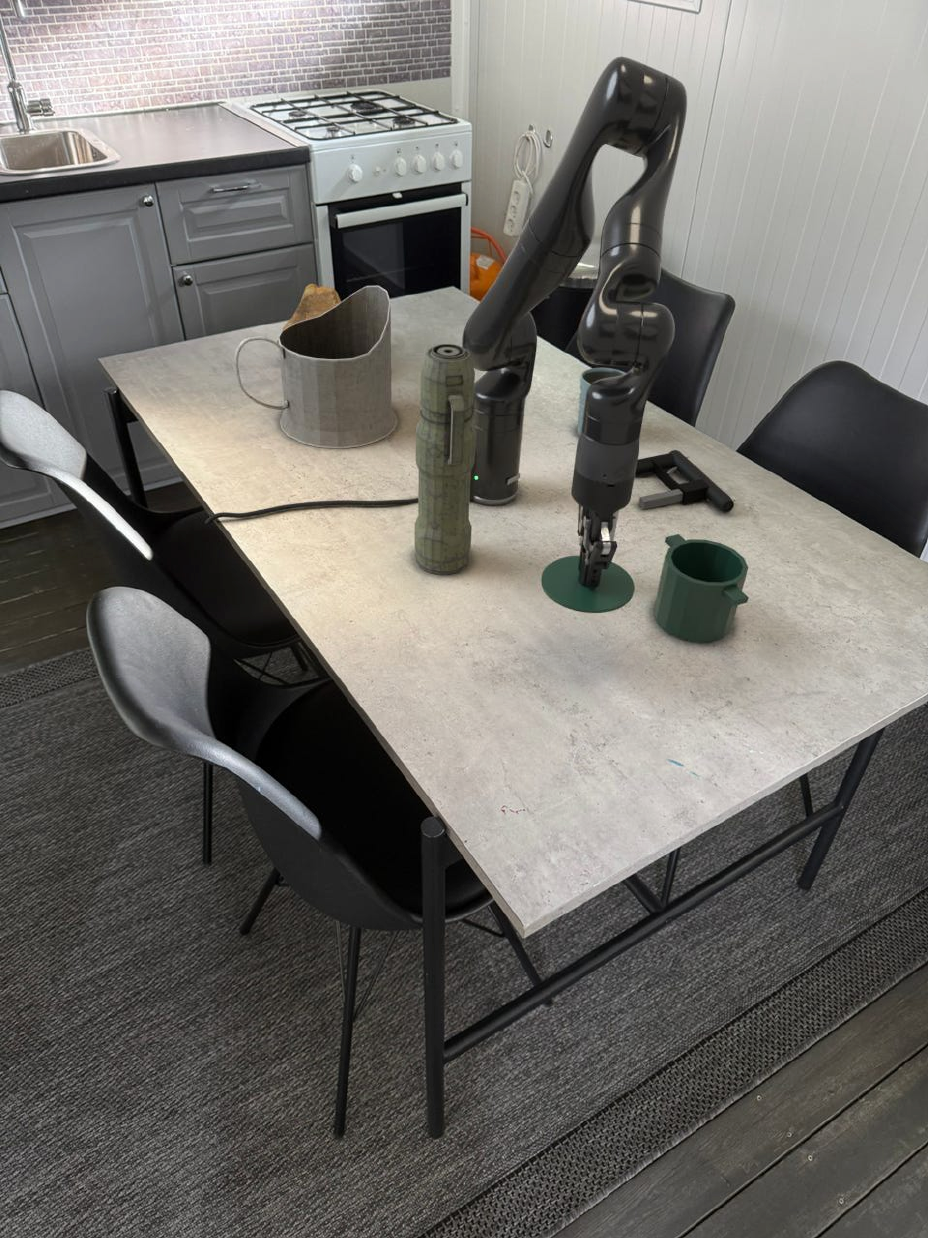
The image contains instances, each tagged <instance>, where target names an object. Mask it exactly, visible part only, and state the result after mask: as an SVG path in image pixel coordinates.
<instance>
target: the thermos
mask: <svg viewBox="0 0 928 1238" xmlns="http://www.w3.org/2000/svg"><path fill="white" fill-rule="evenodd" d="M424 355H425V356H424V358H423V361H422V364H421V367H420V384H419V385H420V390H419V391H420V397H419V398H420V399H419V401H420V402H419V403H420V406H421V409H420V411H419V419H418V422H417V424H416V428H415V465H416V467H417V469H418V492H417V493H418V495H417V498H418V502H417V505H418V506H417V512H418V514H417V517H416V519H415V522H414V550H415V563H416V565H417V566H418V568H419V569H421V570H422V571H424V572H426V573H429V574H431V575H437V576H450V575H454V574H457V573H461V572H462V571H464V569H465V568H466V567H468V565H469V562H470V551H471V546H472V530H473V529H472V524H471V521H470V519H469V517H470V501H469V500H470V480H471V470H472V468H473V466H474V463H475V445H476V430H475V427H474V423H473V413H472V406H473V401H474V384H475V382H476V381H475V380H476V379H475V378H476V377H475V376H476V372H475V371H476V370H475V368H474V367H473V363H472V360H471V356H470V353H469V351H468V350H466V349H464V348H463V347H462V345H461V346H460V345H458V344H454V343H442V344H437V345H435V346H431V347H430V348H428V349H427V351H426V353H425V354H424Z"/></svg>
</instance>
